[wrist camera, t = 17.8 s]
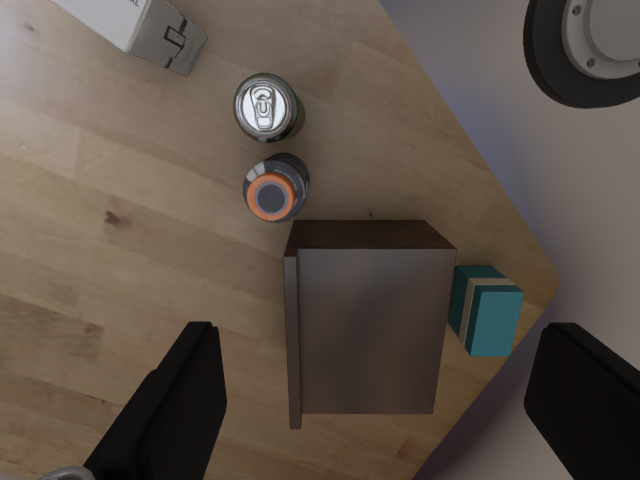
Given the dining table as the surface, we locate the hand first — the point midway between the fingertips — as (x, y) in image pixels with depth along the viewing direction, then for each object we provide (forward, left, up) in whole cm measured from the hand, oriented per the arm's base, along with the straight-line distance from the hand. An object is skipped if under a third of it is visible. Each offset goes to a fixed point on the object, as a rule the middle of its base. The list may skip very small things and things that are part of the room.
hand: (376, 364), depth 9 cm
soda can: (+6, -8, -31) cm, 32 cm away
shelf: (-3, +14, -30) cm, 34 cm away
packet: (-18, +14, -30) cm, 38 cm away
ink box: (+18, -16, -31) cm, 39 cm away
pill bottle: (+6, -1, -31) cm, 31 cm away
